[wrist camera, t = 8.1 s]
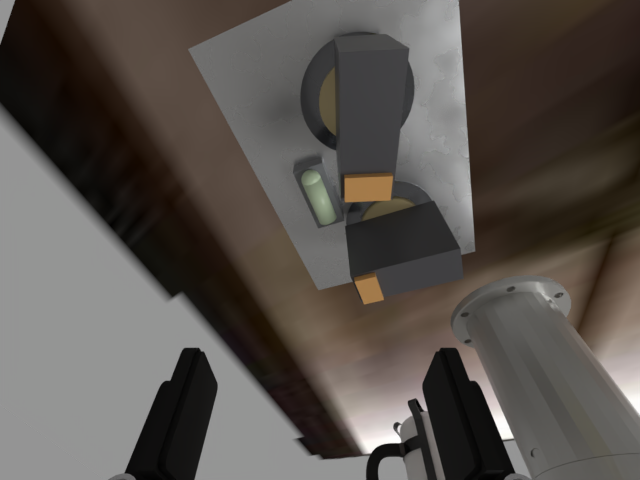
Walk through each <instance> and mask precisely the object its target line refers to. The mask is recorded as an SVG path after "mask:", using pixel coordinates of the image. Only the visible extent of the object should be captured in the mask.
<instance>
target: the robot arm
mask: <svg viewBox="0 0 640 480" xmlns="http://www.w3.org/2000/svg"><path fill="white" fill-rule="evenodd" d="M570 308H571V298H570V295H569V294H568V292H567V291H566V290H565V289H564V287H563V286H562V285H560V284H559V283H558V282H557V281H555V280H552V279H550V278H547V277H542V276H533V275H523V276H513V277H508V278H503V279H500V280H497V281H494V282H491V283H489V284H486V285H484V286H482V287H480V288H478V289H477V290H475V291H473V292H471V293H470V294H469V295H468V296H466V297H465V298H464V299H463V300H462V301H461V302H460V303H459V304H458V305H457V306H456V308H455V310H454V311H453V313H452V316H451V328H452V331H453V334H454V335H455V337H456V339H457V340H458V341H460V342H461V343H462V344H464V345H466V346H468V347H471V348H475V350H476V352H477V355H478V357H479V359H480V362H481V364H482V366H483V368H484V371H485V373H486V375H487V378H488V380H489V382H490V385H491V387H492V389H493V391H494V394H495V396H496V398H497V401H498V403H499V405H500V408H501V410H502V412H503V414H504V417H505V419H506V421H507V424H508V426H509V428H510V430H511V433H512V435H513V437H514V440H515V442H516V444H517V447H518V449H519V451H520V453H521V456H522V458H523V460H524V463H525V465H526V467H527V470H528V472H529V474H530V476H531V479H530V478H528V477H527V476H525V475H522V474H518V473H516V472H515V470H514V468H513V465H512V463H511V460H510V458H509V455H508V453H507V450H506V448H505V446H504V443H503V441H502V438H501V436H500V433H499V431H498V428H497V426H496V423H495V421H494V419H493V416H492V414H491V411H490V409H489V406H488V404H487V401H486V399H485V396H484V394H483V392H482V389H481V387H480V385H479V384H478V383H477V382H476V381H470V380H469V377H468V375H467V372H466V369H465V367H464V364H463V362H462V359H461V356H460V354H459V352H458V350H457V349H456V348H440V350H439V351H436V352H435V355H434V357H433V359H432V362H431V364H430V366H429V369H428V371H427V374H426V376H425V378H424V381H423V383H422V390H423V395H424V398H425V402H426V406H427V410H428V414H429V418H430V422H431V426H432V429H433V433H434V437H435V441H436V445H437V449H438V453H439V457H440V461H441V464H442V468H443V472H444V476H445V480H640V414H639V413H638V412H637V410H636V409H635V408H634V406H633V405H632V404H631V402H630V401H629V400H628V398H627V397H626V396H625V394H624V393H623V392H622V391H621V389H620V388H619V387H618V385H617V384H616V383H615V381H614V380H613V379H612V377H611V376H610V375H609V373H608V372H607V371H606V369H605V368H604V367H603V365H602V364H601V363H600V362H599V360H598V359H597V358H596V356H595V355H594V354H593V352H592V351H591V350H590V348H589V347H588V346H587V344H586V343H585V342H584V340H583V339H582V338H581V336H580V335H579V334H578V332H577V331H576V330H575V329H574V327H573V326H572V325H571V323H570V322H569V321H568V319H567V318H566V317H567V315H568V314H569V311H570ZM217 390H218V383H217V381H216V378H215V376H214V374H213V371H212V369H211V366H210V364H209V362H208V359H207V357H206V355H205V352H204V351H201V350H200V348H184V349H183V350H182V352H181V354H180V356H179V359H178V362H177V364H176V367H175V369H174V372H173V375H172V377H171V380H170V381H164V382H163V383H162V384H161V385H160V387H159V389H158V392H157V394H156V396H155V399H154V401H153V404H152V406H151V409H150V411H149V414H148V416H147V419H146V421H145V423H144V426H143V428H142V431H141V433H140V436H139V438H138V441H137V443H136V445H135V448H134V450H133V453H132V455H131V458H130V460H129V463H128V465H127V468H126V470H125V472H124V473H122V474H118V475H115V476H113V477H112V478H110V479H108V480H195V476H196V472H197V468H198V464H199V461H200V457H201V453H202V449H203V445H204V441H205V437H206V433H207V429H208V426H209V422H210V418H211V414H212V410H213V406H214V402H215V398H216V395H217Z"/></svg>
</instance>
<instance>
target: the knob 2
mask: <svg viewBox="0 0 640 480" xmlns="http://www.w3.org/2000/svg"><path fill="white" fill-rule="evenodd" d="M345 231H346V240H347V250H348V259H349V268H350V277H351V279H352V281H353V284H354V286H355V288H356V291H357V293H358V295H359V298H360V300H361V302H363V303H364V304H368V303H373V302H377V301H381V300H384V298H383V297H387V296H391V295H396V294H400V293H404V292H408V291H413V290H417V289H421V288H426V287H430V286H434V285H439V284H443V283H447V282H452V281H456V280H460V279H464V277H463V267H462V258H461V248H460V247H459V245H458V243H457V241H456V239H455V237H454V236H453V234H452V232H451V230H450V228H449V227H448V225H447V223H446V221H445V219H444V217H443V216H442V214H441V212H440V210H439V208H438V207H437V205H436V203H435V201H434V200H433V201H430V202H427V203H423V204H420V205H415V204H414V203H413V202H412V201H410V200H409V199H407V198H404V197H399V196H393V200H388V201H375V202H374V203H372V204H371V205H370V206H369V207H368V208H367V209H366V210H365V212H364V213H363V216H362V219H361V222H357V223H354V224H350V225H347V226H345Z"/></svg>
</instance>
